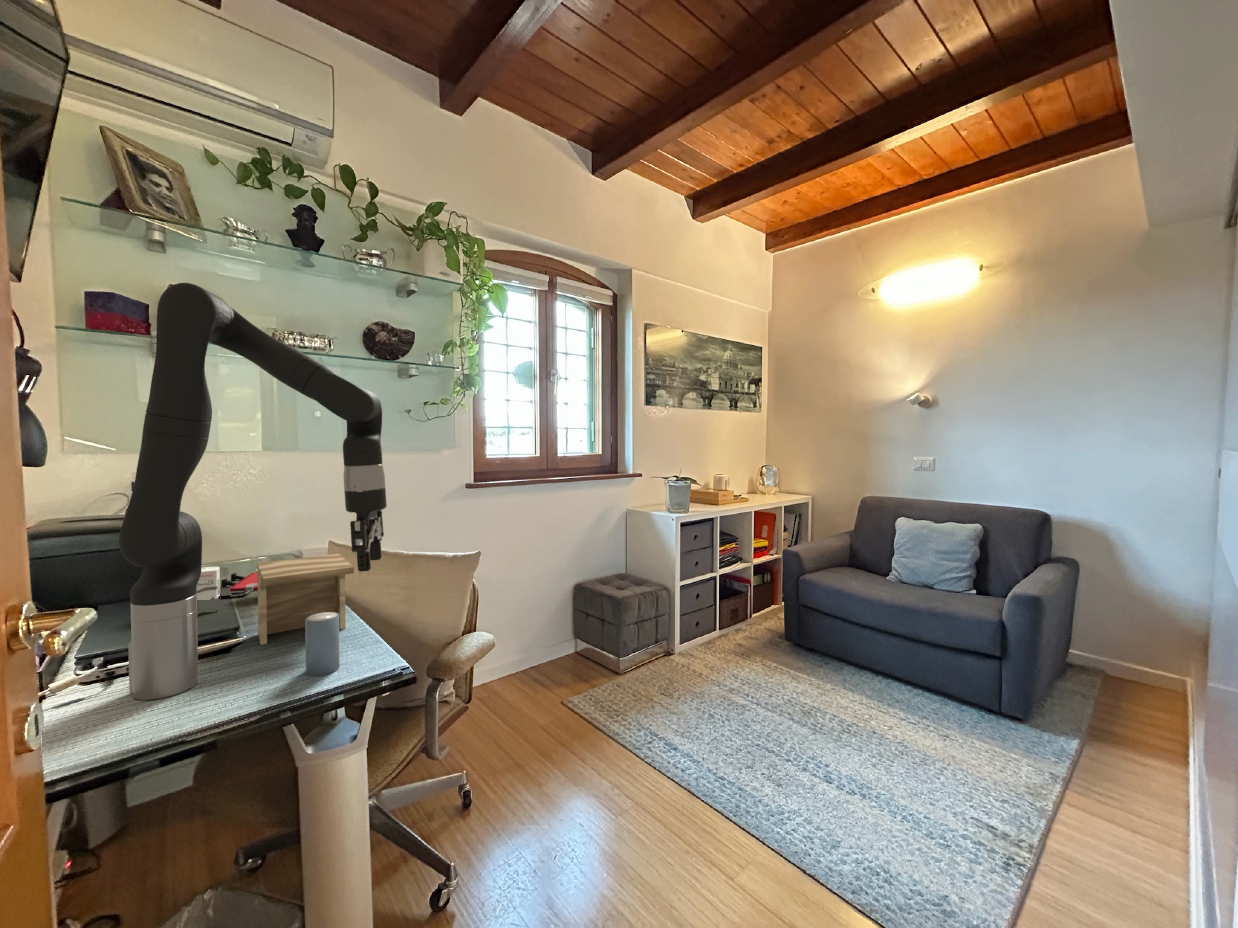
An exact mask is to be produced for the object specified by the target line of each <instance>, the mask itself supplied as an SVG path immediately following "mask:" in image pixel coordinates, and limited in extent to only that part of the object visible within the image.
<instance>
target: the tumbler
mask: <svg viewBox="0 0 1238 928" xmlns="http://www.w3.org/2000/svg"><path fill="white" fill-rule="evenodd" d="M304 629H305V630H304V631H305V634H304V636H305V637H304V638H305V639H304V640H305V641H304V642H305V674H306V675H307V676H309V677H322V676H326V675H330V674H333V673H335V672H337V671H338V670H339V669H340V665H341V664H340V628H339V614H338V613H336V612H323V613H317V614H313V615H310V616H308V617H307V618H306V619H305V627H304Z"/></svg>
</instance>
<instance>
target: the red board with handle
mask: <svg viewBox="0 0 1238 928" xmlns="http://www.w3.org/2000/svg"><path fill="white" fill-rule="evenodd" d="M237 580H239V581H238V582H236V581H237ZM228 586H229V588H228V589H230V590H231V594H232V596H231V597H240V596H241V597H242V596H243V597H244V596H246V595H247V594H248V593H251V592H254V591H258V582H257V572H251V573H250V574H249V575H247V576H241V575H237V572H236V573H235V572H234V573H232V574H230V581H228V578H223V579H220V588H221V587H226V588H227V587H228Z"/></svg>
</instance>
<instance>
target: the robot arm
mask: <svg viewBox="0 0 1238 928" xmlns="http://www.w3.org/2000/svg"><path fill="white" fill-rule="evenodd" d="M155 337H156V339H155V340H156V341H155V356H154V363H153V368H152V376H151V380H150V381H151V382H150V388H149V396H148V402H147V405H146V410H145V415H144V421H143V426H142V427H143V428H142V436H141V444H140V448H139V455H138V460H137V464H136V465H137V466H136V470H135V471H136V472H135V478H134V483H133V488H132V492H131V495H130V498H129V501H128V502H129V503H128V505H127V508H126V512H125V515H124V518H123V521H122V524H121V527H120V531H119V536H118V546H119V550H120V553H121V555H122V556H123V558H124V559H125V560H126V561H127V562H128V563H130V564H131V565H133V566H136V567H139V568H140V567H141V568H143V571H142V573H141V575H140V577H138V579H137V581H136V582H135V583H134V584H133V586H132V587H131V588H130V593H129V594H130V596H129V597H130V600H129V601H130V627H131V628H130V633H131V634H130V635H131V640H130V641H128V644H127V645H128V680H129V681H128V687H129V688H128V692H129V693H130V694H132V697H133V699H135V700H140V701H146V700H147V701H148V700H149V701H150V700H156V699H163V698H167V697H168V698H169V697H171V696H175V695H178V694H180V693H183V692H186V691H188V690H190V689H192V688H193V687H195V686H196V685H197V684H198V682H199V667H198V666H199V665H198V664H199V654H198V648H199V647H198V644H199V643H198V642H199V641H198V614H197V594H196V593H197V583H198V581H199V579H200V575H201V568H203V565H202V560H203V536H202V535H203V533H202V529H201V526H200V524H199V522H198V520H197V519H196V518H195V517H194V516H192V515H191V514H189V513H187V512H185V511H181V505H182V500H183V494H184V492H185V488H186V486H187V484H188V482H189V480H190V479H191V477H192V475H193V473H194V472H195V470H196V468H198V465H199V463H200V462H201V460H202V458H203V456H204V453H205V452H206V449H207V447H208V442H209V437H210V432H211V426H212V418H213V406H212V400H211V395H210V392H209V391H210V390H209V387H208V382H207V377H206V371H205V368H206V367H205V364H206V357H207V356H206V355H207V352H208V346H209V343H210V344H211V345H215V346H217V347H220V348H222V349H226V350H228V351H230V352H232V353H234V354H236V355H239V356H241V357H243V358H244V359H247V360H248V361H249V362H251V363H253V364H255V365H256V366H257V367H259V368H261V370H263V371H265V372H267V374H269V375H270V376H272V377H273V378H275V379H276V380H278V381H279V382H280V383H283V384H284V385H286V386H287V387H289V388H291V389H293V390H294V391H296V392H298V393H299V394H302V396H303V395H304V396H306V398H309V399H310V400H313V401H315V402H317V403H318V404H319V405H321V406H322V407H323V408H325V409H326V410H328V411H330V412H331V413H332V414H334V415H336V416H337V417H339V418H341V419H343V420H345V422H346V437H345V439H344V440H343V443H342V455H343V456H342V457H343V492H344V505H345V511H346V512H348V513H351V514H352V513H354V514H355V515H356V517H355V518H356V519H355V520H351V521H350V522H349V524H350V540H351V545H350V546H351V552H352V553H356V559H357V560H356V562H357V570H358V572H361V573H362V572H369V571H370V570H371V568H372V566H371V561H379V560H381V559H382V543H381V542H382V541H383V537H384V535H385V533H384V521H383V511H382V510H384V509H386V508H387V491H386V490H387V489H386V476H385V471H384V466H383V465H384V464H383V454H382V453H383V450H382V444H381V443H382V442H381V436H382V428H383V408H382V403H381V399H380V398H379V397H378V396H377V394H375V392H372V391H371V390H369V389H365V388H362V387H360V386H359V385H356V384H354V383H353V382H351V381H348V380H347V379H345V378H344V377H341V376H339V375H337V373H336V372H335V371H334V370H333V369H331V368H330V367H328V366H327V365H325V364H323V363H321V362H320V361H318V360H316V359H315V358H313V357H311V356H309V355H307V354H306V353H304V352H302V351H300V350H298V349H297V348H294V347H292V346H291V345H288V344H287V343H284V342H282V341H280V340H278V339H277V338H275V337H273V336H272V335H270V334H268V333H266V332H265V331H263V330H262V329H260V328H259V327H258V326H256V325H254V324H253V323H252V322H250V321H249V320H248V319H247V318H245V317H244V316H243V315H242V314H240V313H239V312H237V310H235V309H234V308H233V307H232V306H231V305H229V304H228V302H226V301H225V299H223V298H222V297H220V296H218V295H216V294H215V293H213V292H210V291H209V290H207V289H205V288H203V287H201V286H199V285H197V284H194V283H190V282H178V283H174V284H172V285H171V286H168V287H167V289H165V290H164V291H163V292H162V294H161V295H160V297H159V301H158V302H157V309H156V336H155ZM189 688H190V689H189Z"/></svg>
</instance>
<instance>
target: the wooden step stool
mask: <svg viewBox="0 0 1238 928" xmlns="http://www.w3.org/2000/svg"><path fill="white" fill-rule="evenodd" d="M256 564H257V565H256V569H257V572H256V573H257V582H258V590H257V635H258V640H259V642H260V643H259V644H260V645H264V644H265V645H266V644H268V636H267V635H271V634H276V633H282V632H288V631H293V630H298V629H303V628H304V629H305V619H306V618H307V617H308V616H310V615H313V614H317V613H323V612H336V613H338V614H339V630H343V629H346V575H350V574H351V575H352V574H355V566H353V565H352V564H351V563H350V562H349V561H348V560H346V558H344V557H343V556H342V555H341V554H340V553H335V554H326V555H325V554H324V555H315V556H309V557H308V556H306V557H298V558H288V559H281V560H280V559H279V560H271V561H270V560H269V561H261V562H260V561H259V562H257V563H256Z"/></svg>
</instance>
